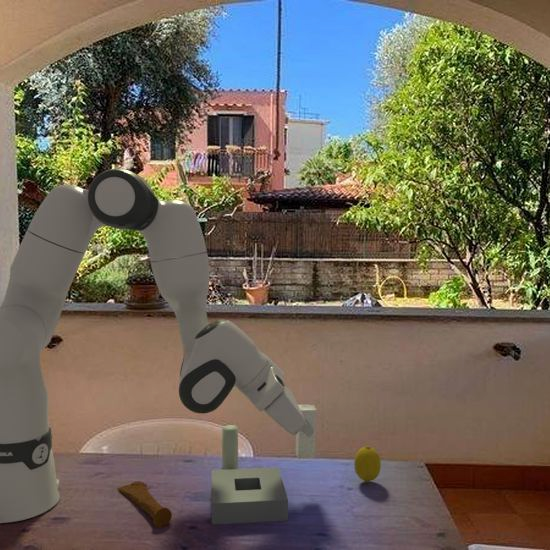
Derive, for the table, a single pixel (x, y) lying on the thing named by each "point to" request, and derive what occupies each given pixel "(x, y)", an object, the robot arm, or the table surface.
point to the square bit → (304, 443)
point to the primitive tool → (147, 503)
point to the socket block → (248, 496)
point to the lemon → (367, 464)
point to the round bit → (230, 447)
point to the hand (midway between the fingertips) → (309, 429)
